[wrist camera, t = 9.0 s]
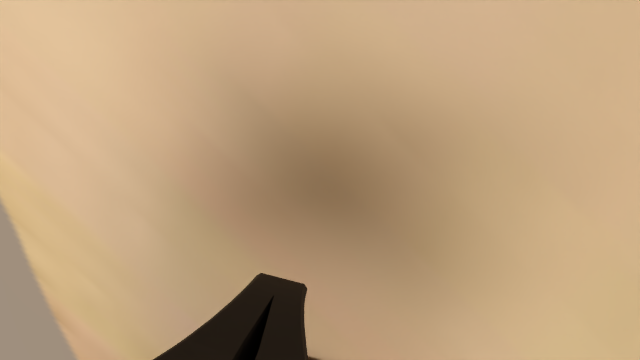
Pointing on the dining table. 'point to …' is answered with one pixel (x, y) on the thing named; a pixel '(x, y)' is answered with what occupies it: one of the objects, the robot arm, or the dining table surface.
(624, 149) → the dining table surface
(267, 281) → the robot arm
